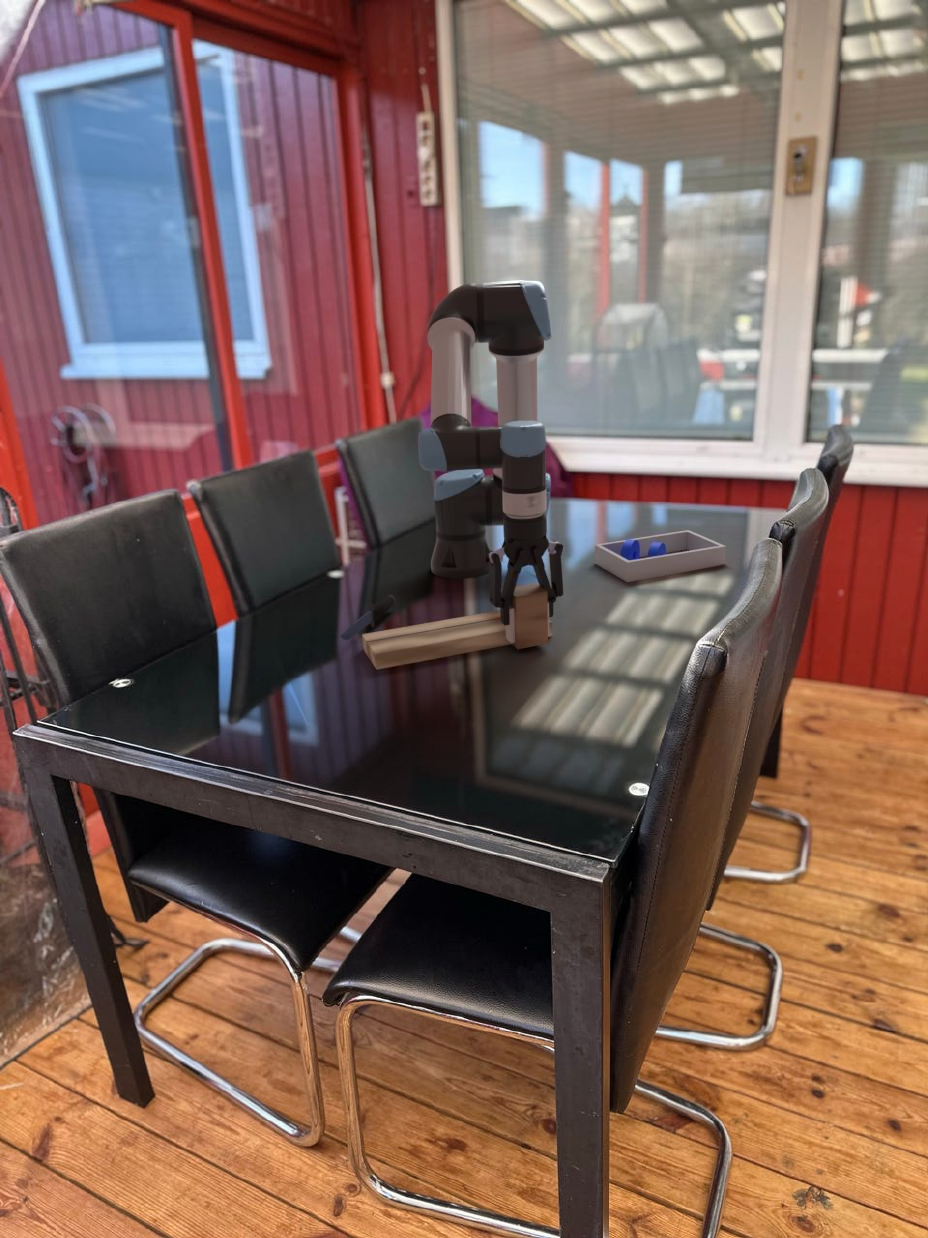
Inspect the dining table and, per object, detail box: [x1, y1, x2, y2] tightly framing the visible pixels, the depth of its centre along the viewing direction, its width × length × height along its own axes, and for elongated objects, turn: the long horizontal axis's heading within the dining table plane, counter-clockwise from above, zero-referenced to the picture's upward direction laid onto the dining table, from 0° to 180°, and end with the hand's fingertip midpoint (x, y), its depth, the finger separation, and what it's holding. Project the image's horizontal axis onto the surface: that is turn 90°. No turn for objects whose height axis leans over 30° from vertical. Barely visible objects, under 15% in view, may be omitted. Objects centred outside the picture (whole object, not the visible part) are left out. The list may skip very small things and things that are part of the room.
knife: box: [339, 594, 396, 641], centre depth 172 cm, size 24×2×5 cm, turn 162°
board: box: [361, 609, 553, 670], centre depth 165 cm, size 10×34×3 cm, turn 110°
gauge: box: [498, 582, 549, 650], centre depth 165 cm, size 18×6×10 cm, turn 20°
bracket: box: [620, 538, 667, 561], centre depth 204 cm, size 18×8×9 cm, turn 150°
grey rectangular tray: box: [594, 529, 727, 583], centre depth 202 cm, size 15×25×4 cm, turn 110°
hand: (527, 636), depth 161 cm, fingers closed on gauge, 6 cm apart
